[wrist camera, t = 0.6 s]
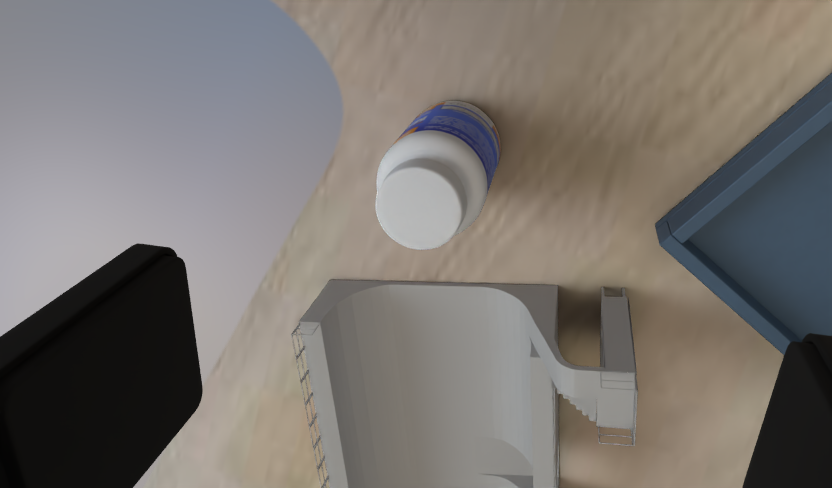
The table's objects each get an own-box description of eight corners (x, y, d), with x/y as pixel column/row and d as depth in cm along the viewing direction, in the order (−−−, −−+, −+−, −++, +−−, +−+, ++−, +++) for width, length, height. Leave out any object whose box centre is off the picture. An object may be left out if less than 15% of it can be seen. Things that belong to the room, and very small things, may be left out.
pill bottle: (424, 85, 37) (375, 131, 28) (516, 118, 36) (495, 175, 28) (397, 172, 39) (345, 239, 31) (483, 204, 39) (455, 281, 30)
